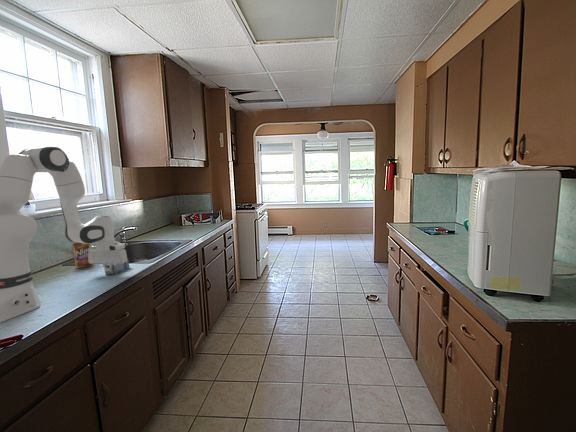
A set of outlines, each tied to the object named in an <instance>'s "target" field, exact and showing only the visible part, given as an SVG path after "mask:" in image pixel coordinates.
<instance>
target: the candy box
mask: <svg viewBox="0 0 576 432" xmlns="http://www.w3.org/2000/svg"><path fill="white" fill-rule="evenodd" d="M91 246H92V243H90V244H86V243H73V242H72V247H73V248H72V249H73V257H74V264H75V265H74V266H75V269H76V270H77V269H82V268H88V267H94V264H90V263H89V261H88V253H89V251H88V249H89V247H91Z"/></svg>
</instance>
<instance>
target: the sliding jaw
mask: <svg viewBox="0 0 576 432" xmlns="http://www.w3.org/2000/svg"><path fill="white" fill-rule="evenodd" d="M107 266H108V268H109V267H110V266H109V264H107ZM121 270H122V269H121V264H114V265H113V267H112V271H111V272H106V271H105V270H104V273H105V275H117V274H119V273H120V272H122V271H121Z"/></svg>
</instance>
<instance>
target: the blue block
mask: <svg viewBox="0 0 576 432" xmlns="http://www.w3.org/2000/svg"><path fill="white" fill-rule="evenodd" d="M121 269H122V270H121V272H123V271H124V270H126V269H125V263H123V264H121Z"/></svg>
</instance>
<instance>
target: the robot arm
mask: <svg viewBox="0 0 576 432" xmlns="http://www.w3.org/2000/svg"><path fill="white" fill-rule="evenodd" d="M36 173H48V174H50V176H51V177H52V178H53V183H54V186H55V189H56V191H57V194H58V197H59V203H60V208H61V211H62V214H63V215H62V216H63V219H64V222H65V231H64V235H65V238H66V239H67V240H68V241H69V242H70V243H72V244H73V243H86V244H90V243H91V244H94V243H95V245H91V247H89V249H88V251H89V253H88V261H89V263H90V264H93V265H95V264H96V265H97V264H100V265H101V264H102V267H103V268H104V272H105V271H106V272H111V271H112V267H113V265H114V264H123V263H125V262H126V261H127V259H128V254H127V250H126V249H125V248H126V247H125V244H124V243H122V242H119V241H116V238H115V236H114V235H115V229H114V227H115V226H114V222H113V219H112V218H111V216H109V215H108V216H107V215H95V216H94V217H93V218H92V219H91V220H89V221H88V222H86V223H83V222H82V221H81V218H80V216H79V211H78V203H79V201H80V200H81V199H83V197H84V196H85V193H86V189H85V184H84V181H83V178H82V175H81V173H80V171H79V169H78V167H77V165H76V164H75V162H74V161H72V160H70V158H69V157H68V156H67V154H66V152H65V151H64V150H63V149H61V148H60V147H58V146H53V145H47V146H34V147H30V148H26V149H23V150H21V151H20V152H19V153H10V154H8V155H6V156H5V157H4V159H3V160H2V163H1V165H0V324H1V323H3V322H5V321H8V320H10V319H13V318H16V317H18V316H21V315H23V314H26V313H29V312H31V311H33V310H36V309H38V308H40V307H41V301H40V299H39V297H38V294H37V292H36V289H35V287H34V284H33V279H34V278H33V277H34V276H33V273H32V270H31V268H30V262H29V246H30V243H31V240H32V238H34V236H35V235H36V234H37V233H38V227H39V226H38V222H37V221H36V219H34V217H32V216H31V215H27V214H22V213H19V211H20V210H21V209H22V208H23V207H24V206H25V205H27V204H28V203H29V200H30V195H31V191H32V187H33V181H34V175H35V174H36ZM107 264H109V266H110V267H109V268H108V266H107Z"/></svg>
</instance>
